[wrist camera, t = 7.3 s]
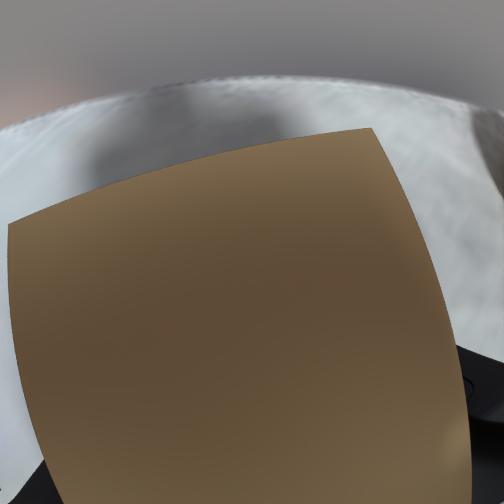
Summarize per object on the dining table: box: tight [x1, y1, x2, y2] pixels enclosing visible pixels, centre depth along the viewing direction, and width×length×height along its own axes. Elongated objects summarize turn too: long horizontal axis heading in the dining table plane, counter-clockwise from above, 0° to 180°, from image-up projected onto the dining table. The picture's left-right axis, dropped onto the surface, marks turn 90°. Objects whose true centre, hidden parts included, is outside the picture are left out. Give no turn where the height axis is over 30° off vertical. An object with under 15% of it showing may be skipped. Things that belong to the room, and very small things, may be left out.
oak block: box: [7, 128, 472, 504], centre depth 8 cm, size 6×5×12 cm
